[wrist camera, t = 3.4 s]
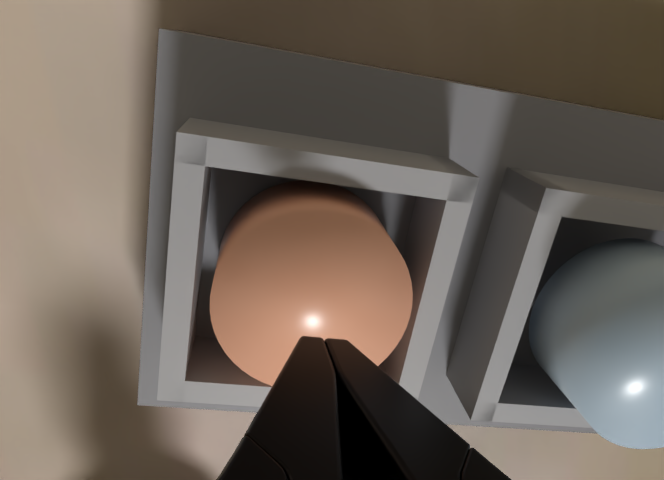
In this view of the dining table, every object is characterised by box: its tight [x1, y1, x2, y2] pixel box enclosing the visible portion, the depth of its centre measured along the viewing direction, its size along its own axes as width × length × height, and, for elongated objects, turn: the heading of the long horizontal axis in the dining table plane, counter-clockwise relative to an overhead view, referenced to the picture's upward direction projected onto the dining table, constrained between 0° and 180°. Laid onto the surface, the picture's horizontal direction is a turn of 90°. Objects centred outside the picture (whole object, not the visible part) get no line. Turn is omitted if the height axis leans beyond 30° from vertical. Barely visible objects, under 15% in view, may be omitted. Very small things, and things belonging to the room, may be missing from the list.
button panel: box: [137, 28, 664, 434], centre depth 16 cm, size 24×10×5 cm, turn 80°
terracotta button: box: [210, 180, 413, 386], centre depth 12 cm, size 4×4×2 cm
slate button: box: [529, 238, 664, 449], centre depth 13 cm, size 4×4×2 cm
